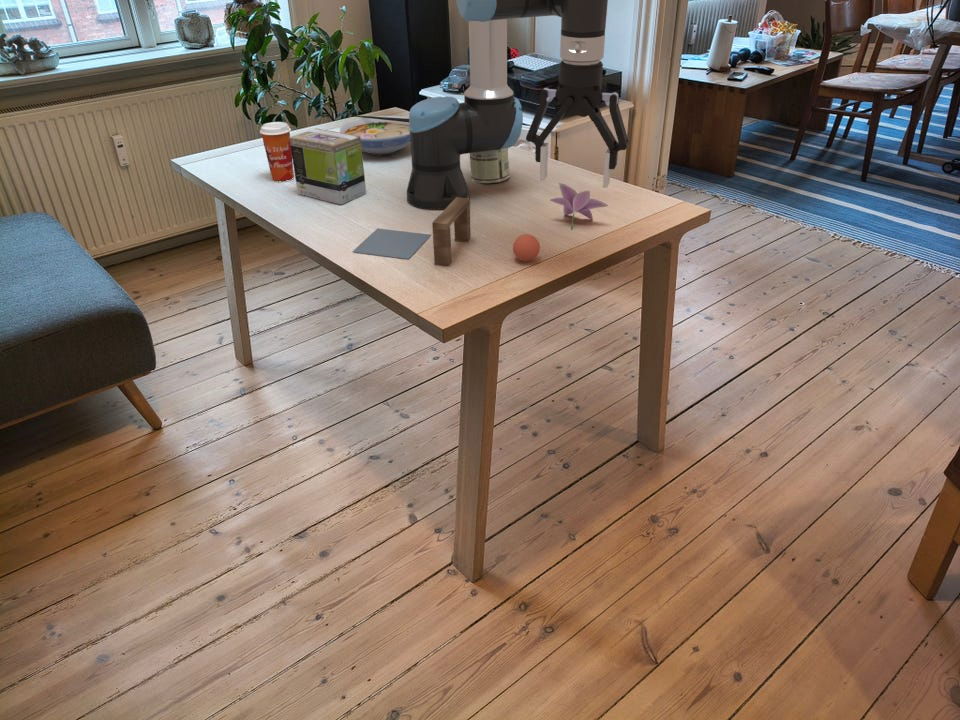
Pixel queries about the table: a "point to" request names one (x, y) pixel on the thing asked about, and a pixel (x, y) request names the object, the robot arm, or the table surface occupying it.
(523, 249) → the ball
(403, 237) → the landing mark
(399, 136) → the ramen bowl
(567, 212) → the lily
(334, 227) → the table surface
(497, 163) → the coffee can
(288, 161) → the paper cup
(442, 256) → the bridge
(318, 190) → the tea box
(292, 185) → the table surface
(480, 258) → the table surface
